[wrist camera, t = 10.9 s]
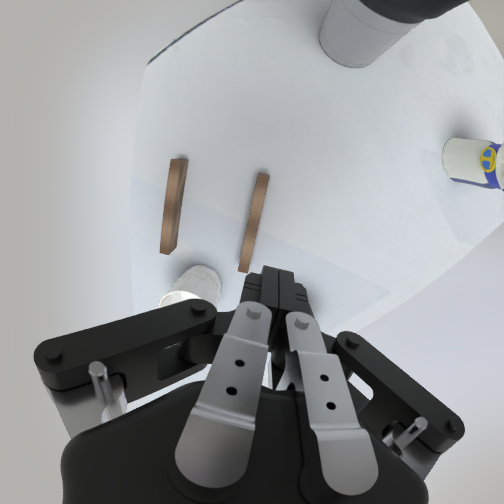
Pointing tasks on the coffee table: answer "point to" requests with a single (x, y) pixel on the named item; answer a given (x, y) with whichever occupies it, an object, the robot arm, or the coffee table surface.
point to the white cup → (194, 287)
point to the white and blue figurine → (474, 162)
